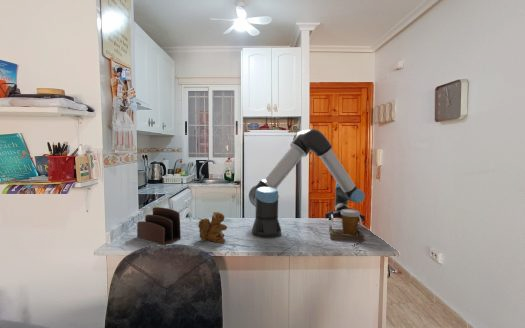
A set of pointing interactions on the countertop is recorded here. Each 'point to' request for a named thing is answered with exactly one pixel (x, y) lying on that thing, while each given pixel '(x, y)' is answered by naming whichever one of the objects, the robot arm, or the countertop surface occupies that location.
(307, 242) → the countertop surface
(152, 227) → the letter holder
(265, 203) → the robot arm
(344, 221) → the disposable coffee cup
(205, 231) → the stuffed squirrel
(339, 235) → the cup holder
